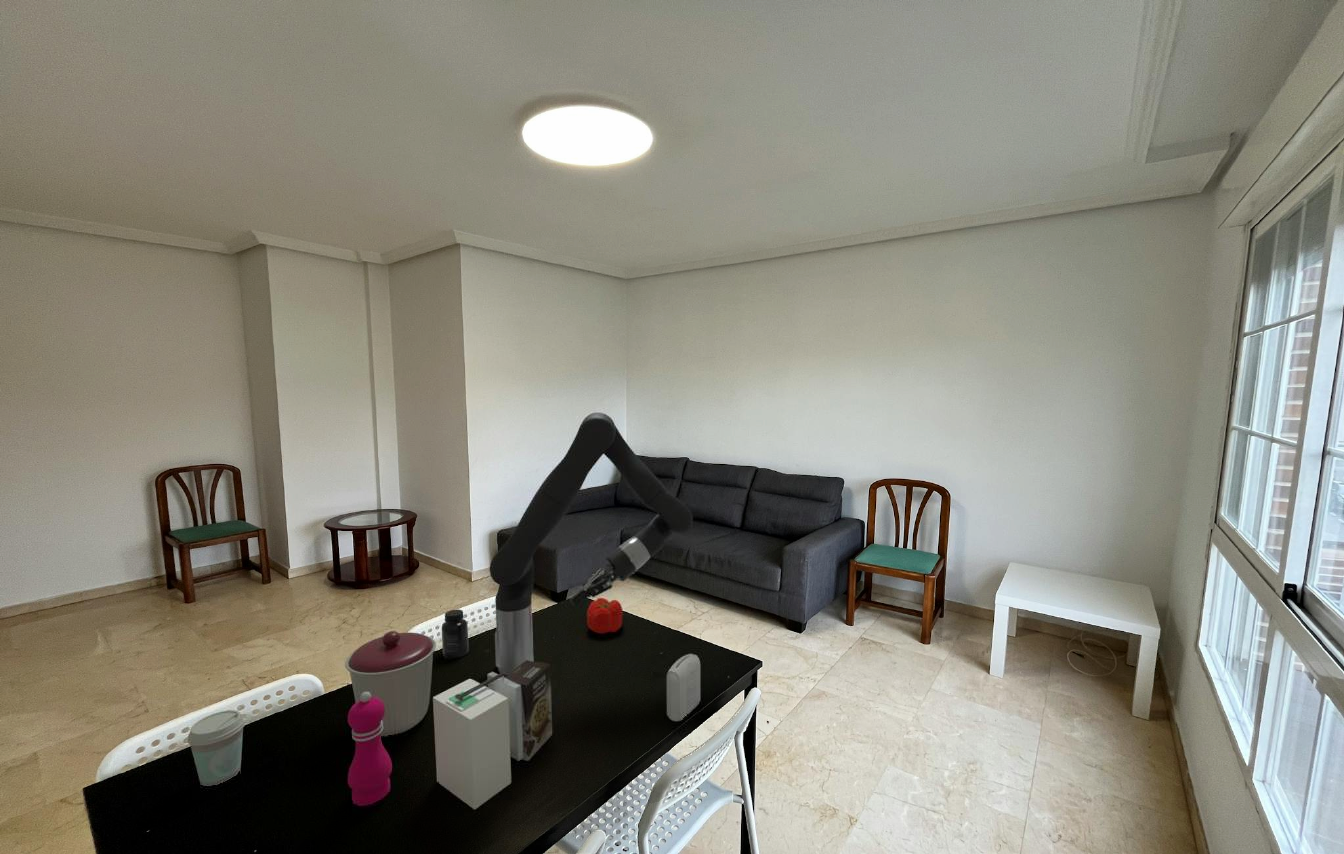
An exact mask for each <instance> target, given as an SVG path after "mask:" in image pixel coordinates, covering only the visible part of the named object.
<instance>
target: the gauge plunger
mask: <svg viewBox="0 0 1344 854" xmlns="http://www.w3.org/2000/svg"><path fill="white" fill-rule="evenodd" d="M486 675H487V677H486V678H487V680H485V681H483V682H481V683H480V684H479V685H477V686H475V687H473V688H471V689H469V690H468V691H466V692H464V693H462V694H460V695H459V694H457V695H455V698H456V699H458V700H460V701H461V700H463V697H465V696H467V695H469V694H471V693H472V692H474V691H476V690H478V689H480V688H482V687H484V686H485V687H487V688H489V689H491V690H493V691H495V692H497V693H499V694H501V695H503V696H505V697H507V698H508V711H509V737H510V758H513V759H514V760H515V761H518V762H519V761H520V760H522V758H523V734H522V707H521V685H519V684H517V683H515V682H512V681H510V680H508V679H506V678H505V675H504V674H502V673H500V672H499V674H498V673H496V672H494V671H491V672H489V673H487V674H486Z"/></svg>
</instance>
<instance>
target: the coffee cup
mask: <svg viewBox="0 0 1344 854" xmlns="http://www.w3.org/2000/svg"><path fill="white" fill-rule="evenodd" d="M245 725H246V720H245V718H244V716H243V715H242V713H241V712H240V711H239V710H234V709H229V710H227V709H226V710H222V711H218V712H215V713H212V714H209V715H207V716H205V717H203V718H201V719H200V720H198V721H196V722H195V723H194V724H193V725H192V726H191V727H190V731H189V733H188V735H187V743H188V744H189V745H190V749H191V752H192V757H193V759H194V764H195V768H196V771H197V775H198V778H199V779H198V780H199V783H200V786H201V785H203V786H212V785H218V784H220V783H223V782H225V781H227V780H229V779H231V778H232V777H234V776H236V775H237V774H238V772H239V771H240V772H241V767H242V751H243V749H242V748H243V735H244V733H243V732H244V727H245Z"/></svg>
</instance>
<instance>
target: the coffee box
mask: <svg viewBox="0 0 1344 854" xmlns="http://www.w3.org/2000/svg"><path fill="white" fill-rule="evenodd" d="M551 677H552V676H551V664H550V663H546V662H540V661H534V660H533V661H528V660H526V661H525V662H523V663H522V664H521V665H520V666H518V667H517V668H516V669H515V670H514V671H512V672H511V673H510V674H509V675H505V676H504V678H506V679H508V680H510V681H512V682H515V683H517V684H519V685H521V707H522V734H523V758H522V759H521V760H522V761H530V760H531V758H533V757H534V755H535V754H536V753H537V752H539V750H540V749H541V748H542V746H543V745H544V744H545V743H546V742H547V741H548V740H549V739H550V738H551V736H552V735H553V718H552V717H553V716H552V685H551V683H552V682H551Z"/></svg>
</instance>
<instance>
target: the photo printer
mask: <svg viewBox="0 0 1344 854" xmlns="http://www.w3.org/2000/svg"><path fill="white" fill-rule="evenodd" d="M699 702H700V703H701V661H700V658H699V657H698V655H696V654H693V653H688V654H685V655H682V656H681V657H679V659H677V660H676V661H675V662H674V663H673V664H672V666H671V667H670V668H669V670H668V672H667V673H666V715H667V717H668V718H669V720H671V721H673V722H680V721H682V720H684V719H685V718H686V717H688V715H690V714H691V712H692V711H693V710H694V709H696V708H697V706H698V705H699V704H700V703H699ZM687 714H688V715H687ZM685 716H686V717H685ZM684 717H685V718H684ZM683 718H684V719H683Z"/></svg>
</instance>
